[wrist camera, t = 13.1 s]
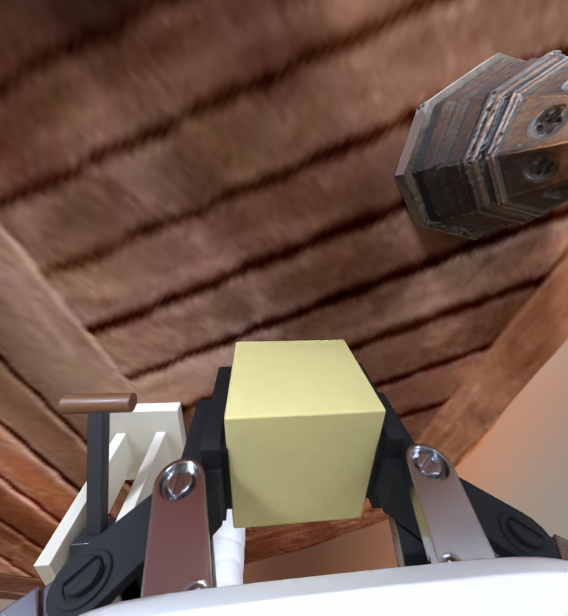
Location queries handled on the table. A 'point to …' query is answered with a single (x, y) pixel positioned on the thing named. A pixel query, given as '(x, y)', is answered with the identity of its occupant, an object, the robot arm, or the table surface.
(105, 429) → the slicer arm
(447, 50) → the table surface
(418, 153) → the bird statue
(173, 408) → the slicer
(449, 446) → the table surface
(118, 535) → the robot arm
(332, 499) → the butter
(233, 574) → the water bottle
